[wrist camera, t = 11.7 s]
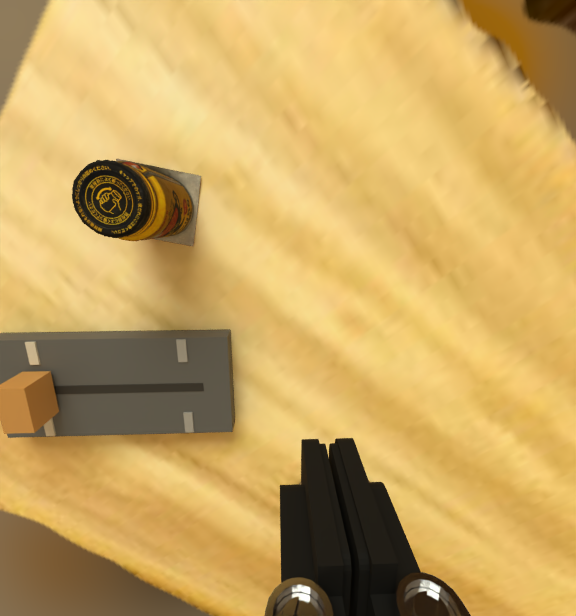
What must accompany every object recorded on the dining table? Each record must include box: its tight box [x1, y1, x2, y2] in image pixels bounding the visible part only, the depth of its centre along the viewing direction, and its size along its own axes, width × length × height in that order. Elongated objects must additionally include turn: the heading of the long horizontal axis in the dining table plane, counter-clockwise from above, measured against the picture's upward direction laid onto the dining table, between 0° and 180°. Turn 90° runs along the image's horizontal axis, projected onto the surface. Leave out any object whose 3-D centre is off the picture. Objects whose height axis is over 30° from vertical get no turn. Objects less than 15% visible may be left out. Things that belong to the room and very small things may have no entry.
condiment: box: [72, 159, 201, 246], centre depth 28 cm, size 7×8×12 cm
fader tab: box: [0, 371, 59, 434], centre depth 34 cm, size 3×5×4 cm, turn 0°
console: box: [0, 330, 235, 438], centre depth 37 cm, size 26×12×3 cm, turn 90°
